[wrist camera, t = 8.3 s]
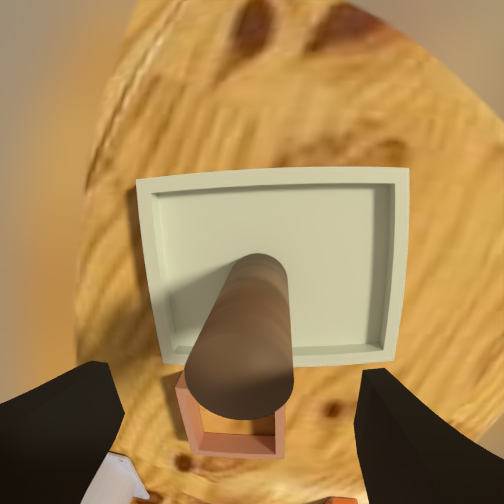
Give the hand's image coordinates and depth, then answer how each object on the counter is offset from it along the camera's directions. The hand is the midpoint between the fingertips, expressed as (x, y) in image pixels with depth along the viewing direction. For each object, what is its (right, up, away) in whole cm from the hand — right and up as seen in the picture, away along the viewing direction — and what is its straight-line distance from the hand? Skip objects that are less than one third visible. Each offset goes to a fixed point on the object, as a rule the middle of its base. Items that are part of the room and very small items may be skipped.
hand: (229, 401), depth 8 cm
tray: (+2, +3, +10) cm, 10 cm away
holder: (0, -7, +13) cm, 15 cm away
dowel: (+1, +2, +9) cm, 10 cm away
